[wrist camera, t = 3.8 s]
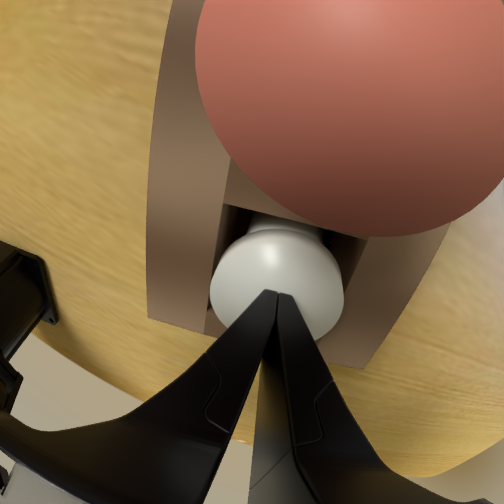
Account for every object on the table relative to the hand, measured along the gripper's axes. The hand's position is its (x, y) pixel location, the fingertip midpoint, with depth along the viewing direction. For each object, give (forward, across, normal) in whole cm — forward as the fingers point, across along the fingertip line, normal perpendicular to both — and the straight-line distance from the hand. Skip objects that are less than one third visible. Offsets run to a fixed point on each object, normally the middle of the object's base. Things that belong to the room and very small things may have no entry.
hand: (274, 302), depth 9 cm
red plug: (+1, 0, -7) cm, 7 cm away
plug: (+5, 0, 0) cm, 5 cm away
